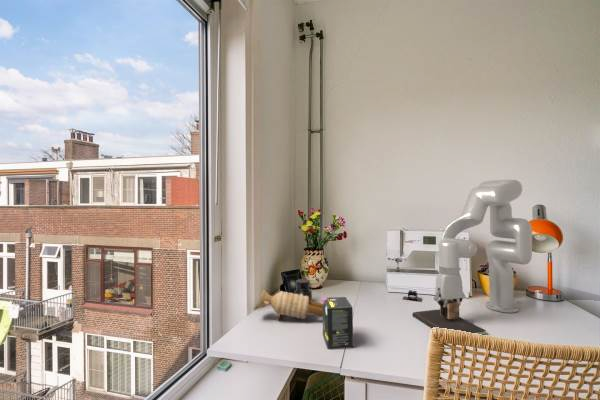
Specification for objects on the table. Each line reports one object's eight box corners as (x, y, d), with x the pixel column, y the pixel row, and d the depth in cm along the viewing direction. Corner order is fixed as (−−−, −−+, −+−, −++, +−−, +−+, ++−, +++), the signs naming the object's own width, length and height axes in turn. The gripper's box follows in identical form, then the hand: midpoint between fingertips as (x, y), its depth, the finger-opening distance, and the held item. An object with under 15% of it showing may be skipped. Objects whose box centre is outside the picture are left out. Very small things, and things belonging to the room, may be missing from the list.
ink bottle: (316, 304, 147) (315, 280, 147) (306, 309, 140) (306, 284, 140) (299, 300, 152) (299, 277, 152) (289, 306, 145) (289, 281, 145)
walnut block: (450, 313, 125) (450, 299, 125) (459, 317, 120) (459, 303, 120) (440, 314, 123) (440, 300, 123) (449, 319, 118) (448, 304, 118)
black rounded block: (426, 299, 153) (426, 291, 153) (424, 304, 146) (424, 295, 146) (401, 296, 159) (401, 288, 159) (398, 300, 152) (398, 291, 152)
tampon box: (322, 335, 113) (321, 297, 113) (346, 334, 114) (345, 296, 114) (327, 349, 102) (326, 307, 102) (353, 348, 103) (353, 306, 103)
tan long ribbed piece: (325, 324, 132) (259, 310, 133) (330, 297, 132) (264, 284, 133) (326, 334, 122) (255, 319, 123) (331, 305, 122) (261, 291, 123)
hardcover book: (443, 313, 134) (443, 308, 134) (486, 336, 111) (485, 330, 111) (412, 317, 130) (412, 312, 130) (449, 341, 108) (449, 335, 108)
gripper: (459, 267, 127) (459, 309, 127) (425, 270, 123) (426, 314, 123) (473, 271, 120) (474, 316, 120) (438, 274, 116) (438, 321, 116)
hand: (449, 314), depth 121 cm, fingers closed on walnut block, 5 cm apart
